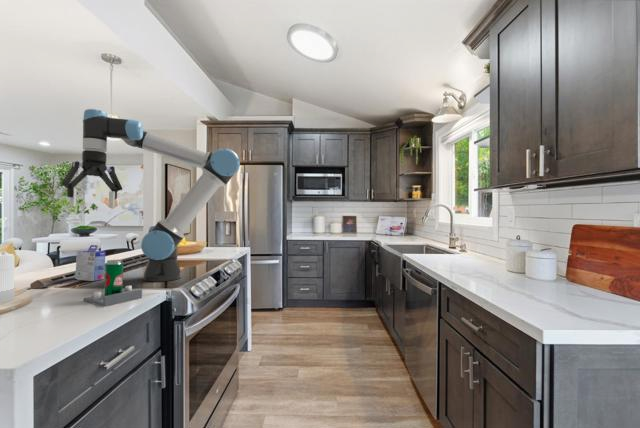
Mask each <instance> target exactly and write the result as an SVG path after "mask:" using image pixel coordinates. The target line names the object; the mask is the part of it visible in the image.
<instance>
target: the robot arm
mask: <svg viewBox="0 0 640 428" xmlns="http://www.w3.org/2000/svg"><path fill="white" fill-rule="evenodd" d="M108 138H111V139H112V138H113V139H114V138H115V139H121V140H122V141H123V142H124V143H125V144H127V145H128V146H130V147H133V148H138V149H141V150H145V151H148V152H152V153H154V154H156V155H160V156H162V157H165V158H169V159H170V160H171V159H172V160H175V161H178V162H182V163H184V164H187V165H189V166H193V167H195V168H199V169H200V170H202V174H201V176H200V177H199V178H198V179H197V181H195V183H194V184H193V185H192V186H191V187H190V189H189V190H188V191H187V193H186V194H185V195H184V196H183V198H181V200H180V201H179V202H178V204H176V206H175V207H174V208H173V209H172V211H171V212H170V213H169V214H168V216H167V217H166V218H165V219H161V220H158V221H157V222H156V224H155V225H153V226H150V227H149V230H148V231H147V232H148V233H146V234H145V235H144V236H143V238H142V241H141V244H140V245H141V247H140V248H141V250H142V253H143V255H144V256H146V257H147V258H148V259H147V264H146V266H145V269H144V272H143V275H142V280H143V281H145V282H170V281H175V280H179V279H181V278H182V272H181V268H180V264H179V261H178V246H179V244H180V243H181V242H182V241H183V239H184V238H185V234H184V232H185V231H186V229H188V227H189V226H190V224H192V222H193V220H195V218H196V217H197V216H198V214H199V213H200V212H201V211H202V210H203V208H204V207H205V206H206V204H208V202H209V201H210V199H211V198H213V196H214V195H215V193H216V192H217V191H218V189H220V188H221V187H225V186H226V185H227V184H228V183H229V182H230V180H231V179H232V178H233V177H234V176H235V175H236V173H237V172H238V171H239V169H240V167H241V163H240V162H241V161H240V158H239V156H238V154H237V152H235V151H233V150H232V149H230V148H219V149H217V150H215V151H214V152H212V151H208V152H205V151H202V150H199V149H196V148H193V147H191V146H188V145H185V144H181V143H179V142H175V141H174V140H170V139H167V138H164V137H162V136H159V135H156V134H154V133H150V132H148V131H145V130H144V128H143V123H142V122H141V121H140V120H133V119H125V118H117V117H110V116H108V113H107V112H106V111H103V110H99V109H94V108H88V109H85V110H84V111H83V119H82V150H83V151H82V153H81V154H82V155H81V157H82V158H81V159H82V162H80V161H78V160H77V161H72V163H71V167H70V169H69V171H68V172H67V173H66V174H65V176H64V179H63V180H62V182H61V183H60V186H63V187H65V188H66V189H67V190H66V191H67V192H66V196H67V198H69V207H71V208H72V207H74V208H75V207H77V188H75V187H76V186H77V185H78V184H80V182H81V181H83V180H84V179H85V178H86V177H87V176H91V177H92V176H93V177H99V178H101V180H102V181H103V182H104V183H105V185H106V186H107V187H108V189H109V190H110V191H108V209H109V208H110V209H112V208H113V209H115V208H116V207H115V205H116V204H115V203H116V200H117V198H118V192H119V191H122V190H123V187H122V184H121V183H120V180H119V178H118V176H117V174H116V170H115V169H116V168H115V166H113V165H111V166H107V150H108V147H107V144H108V142H107V141H108ZM80 168H82V171H81V172H80V173H79V174H78V175H77V176H76V177H75V175H76V174H77V172H78V171H79V169H80ZM107 172H108V174H107Z"/></svg>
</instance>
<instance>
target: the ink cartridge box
mask: <svg viewBox="0 0 640 428" xmlns="http://www.w3.org/2000/svg"><path fill="white" fill-rule="evenodd" d="M93 247H94V248H93ZM98 247H99V245H97V244H96V245H94V244H91V245H90V246H89V247H88V249H87V250H76V258H75V259H76V260H75V275H74V279H77V281H90V282H96V281H101V280H105V264H106V251H105V250H97V248H98Z"/></svg>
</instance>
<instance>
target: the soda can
mask: <svg viewBox="0 0 640 428" xmlns="http://www.w3.org/2000/svg"><path fill="white" fill-rule="evenodd" d="M123 283H124V262H123V260H122V259H108V260H106V262H105V278H104V291H103V292H104V293H103V294H104V296H108V295H113V294H118V293H122V291H123V286H124V285H123Z"/></svg>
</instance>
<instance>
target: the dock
mask: <svg viewBox="0 0 640 428" xmlns="http://www.w3.org/2000/svg"><path fill="white" fill-rule="evenodd" d="M132 288H133V286H132V285H126V286H124V290H122V293H118V294H113V295H108V296H104V293H102V291H101V290H100V291H94V292H93V295H92V296H86V297H85V296H84V297H83V302H87V303H90V304H93V303H94V305H97V304H98V306H101V305H102V306H101V307H109V305H110V306H114V305H117V304H122V303H127V302H131V301H135V300H139V299H142V298H143V288H138V289H137V288H136V289H135V290H134V289H132Z"/></svg>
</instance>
